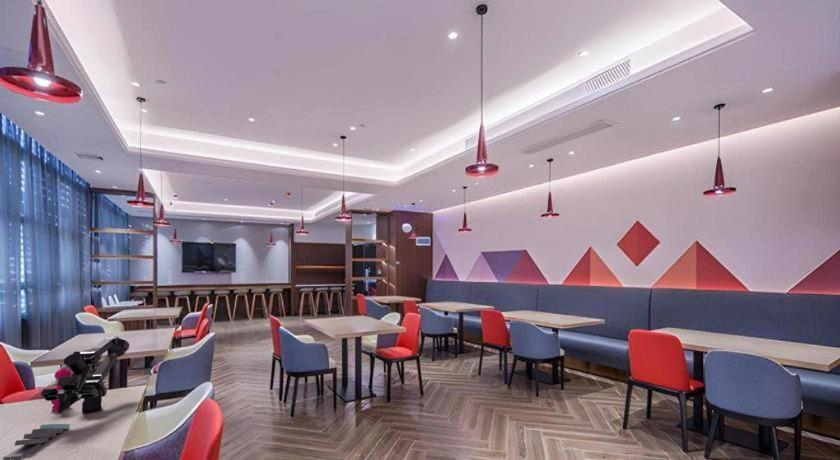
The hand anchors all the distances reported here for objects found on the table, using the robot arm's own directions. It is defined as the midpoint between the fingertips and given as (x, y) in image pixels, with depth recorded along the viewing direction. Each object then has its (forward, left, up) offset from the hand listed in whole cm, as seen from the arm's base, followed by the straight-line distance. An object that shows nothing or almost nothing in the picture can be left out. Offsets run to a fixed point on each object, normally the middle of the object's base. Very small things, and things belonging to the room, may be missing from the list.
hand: (59, 413), depth 163 cm
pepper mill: (+2, -33, -7) cm, 34 cm away
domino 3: (+3, +5, -6) cm, 9 cm away
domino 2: (+6, +13, -7) cm, 16 cm away
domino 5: (-1, -2, -6) cm, 7 cm away
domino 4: (+1, +2, -6) cm, 7 cm away
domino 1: (+4, +10, -6) cm, 12 cm away
